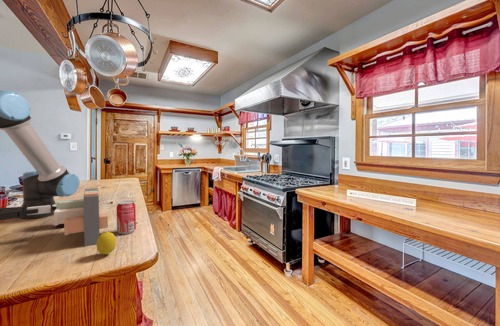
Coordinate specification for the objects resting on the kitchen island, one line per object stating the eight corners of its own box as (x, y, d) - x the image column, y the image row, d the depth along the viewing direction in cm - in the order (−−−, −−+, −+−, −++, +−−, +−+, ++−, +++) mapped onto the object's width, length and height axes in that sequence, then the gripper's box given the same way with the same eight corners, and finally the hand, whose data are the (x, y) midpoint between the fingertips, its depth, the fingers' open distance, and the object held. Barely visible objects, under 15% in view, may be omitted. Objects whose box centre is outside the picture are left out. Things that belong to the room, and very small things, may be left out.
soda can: (139, 230, 99) (139, 201, 98) (125, 236, 92) (125, 204, 91) (127, 228, 101) (126, 199, 100) (112, 233, 94) (112, 203, 93)
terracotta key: (65, 231, 82) (65, 217, 82) (107, 225, 90) (106, 212, 90) (64, 235, 79) (64, 221, 78) (107, 228, 86) (107, 215, 86)
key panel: (86, 229, 98) (85, 187, 97) (98, 227, 101) (97, 186, 100) (84, 246, 82) (83, 194, 81) (99, 243, 84) (98, 193, 83)
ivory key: (55, 222, 86) (55, 209, 86) (96, 217, 93) (96, 205, 93) (54, 225, 82) (53, 212, 82) (96, 220, 90) (96, 207, 89)
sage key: (58, 212, 92) (57, 200, 92) (96, 208, 99) (95, 197, 99) (56, 215, 88) (56, 202, 88) (96, 211, 95) (96, 199, 95)
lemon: (102, 251, 78) (102, 228, 77) (119, 251, 78) (119, 228, 78) (92, 259, 72) (92, 234, 72) (111, 258, 73) (110, 234, 72)
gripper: (-34, 224, 81) (53, 214, 94) (-54, 235, 70) (47, 222, 83) (-35, 203, 80) (52, 196, 94) (-55, 211, 69) (47, 202, 83)
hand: (50, 209), depth 88 cm, fingers closed
